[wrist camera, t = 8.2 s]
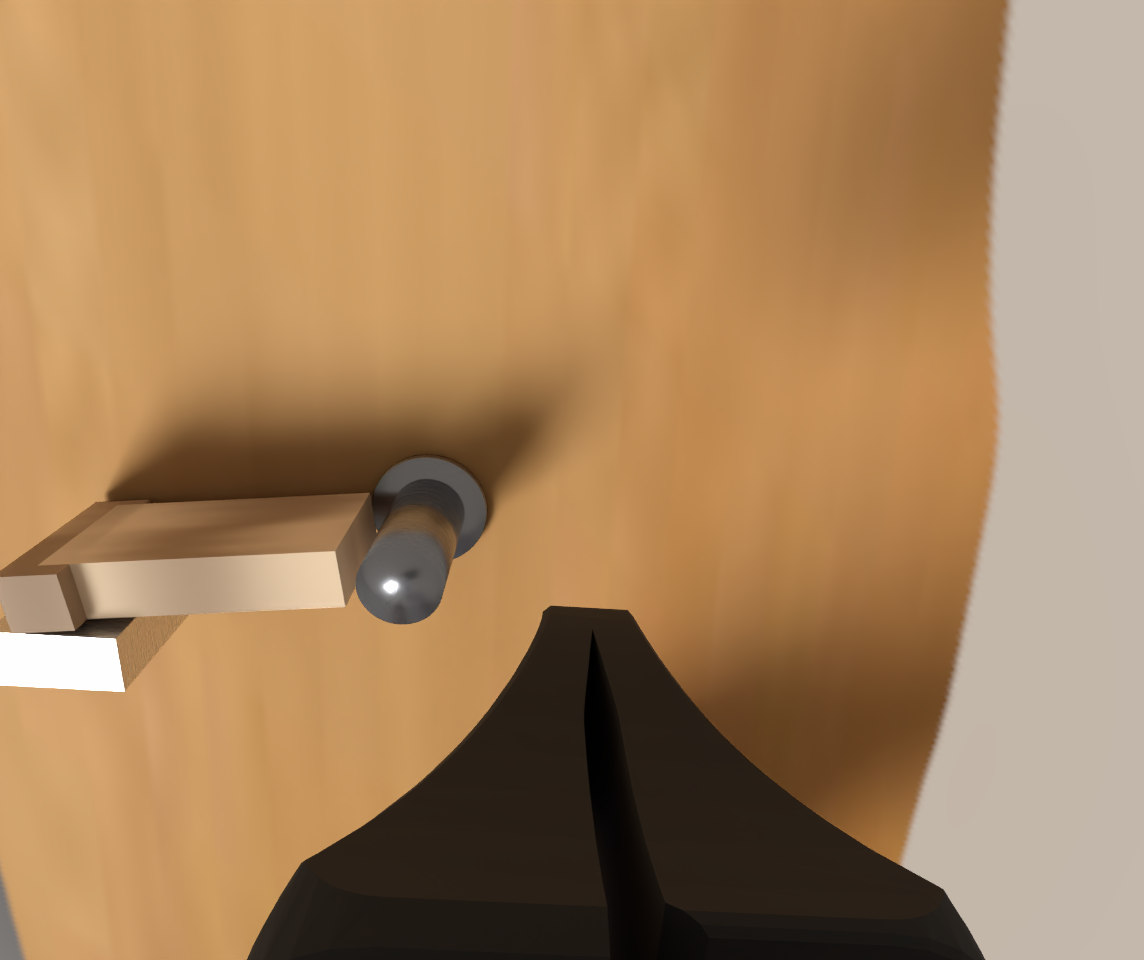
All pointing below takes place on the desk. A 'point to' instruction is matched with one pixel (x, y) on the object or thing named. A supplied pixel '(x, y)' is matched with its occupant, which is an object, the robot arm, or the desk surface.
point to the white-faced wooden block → (84, 653)
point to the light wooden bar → (190, 560)
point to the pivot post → (418, 536)
